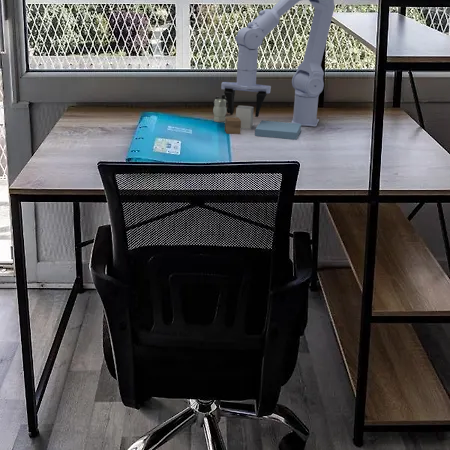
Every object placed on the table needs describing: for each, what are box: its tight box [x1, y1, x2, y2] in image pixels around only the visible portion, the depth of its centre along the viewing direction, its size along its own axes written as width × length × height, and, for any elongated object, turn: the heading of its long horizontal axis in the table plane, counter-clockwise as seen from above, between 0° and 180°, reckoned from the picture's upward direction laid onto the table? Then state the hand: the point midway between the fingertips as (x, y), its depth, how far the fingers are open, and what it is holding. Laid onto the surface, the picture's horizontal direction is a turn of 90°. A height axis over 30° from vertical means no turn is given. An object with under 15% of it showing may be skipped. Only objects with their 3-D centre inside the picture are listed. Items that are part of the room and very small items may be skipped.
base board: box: [254, 120, 302, 140], centre depth 243 cm, size 12×12×2 cm
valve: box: [212, 93, 230, 123], centre depth 258 cm, size 7×7×12 cm
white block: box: [235, 105, 255, 130], centre depth 248 cm, size 4×4×6 cm
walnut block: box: [224, 116, 241, 135], centre depth 241 cm, size 4×4×4 cm
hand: (244, 115), depth 248 cm, fingers open, 7 cm apart
